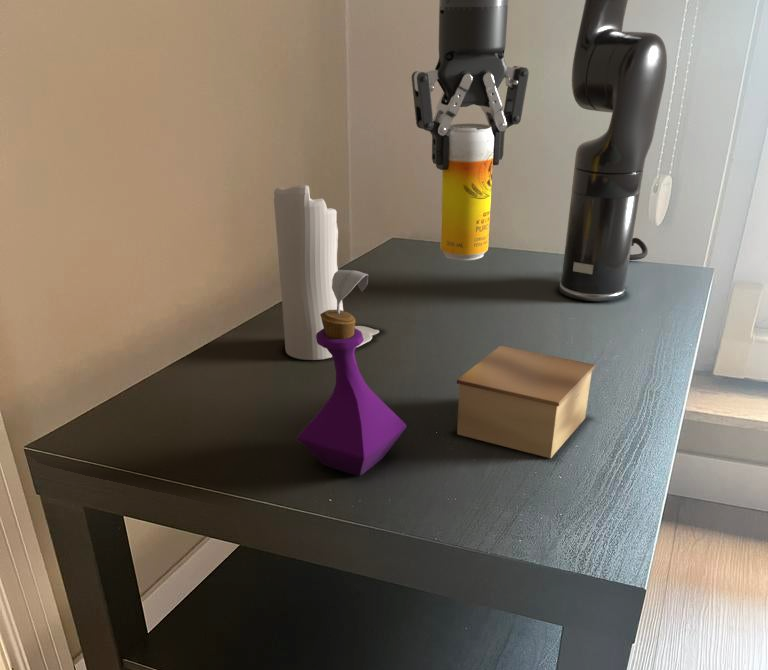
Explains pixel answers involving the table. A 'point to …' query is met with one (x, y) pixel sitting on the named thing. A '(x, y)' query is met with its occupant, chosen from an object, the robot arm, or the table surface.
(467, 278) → the table surface
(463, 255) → the beer can
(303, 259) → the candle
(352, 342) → the purple potion bottle
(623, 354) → the table surface
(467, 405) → the wooden box
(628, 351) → the table surface
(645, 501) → the table surface
